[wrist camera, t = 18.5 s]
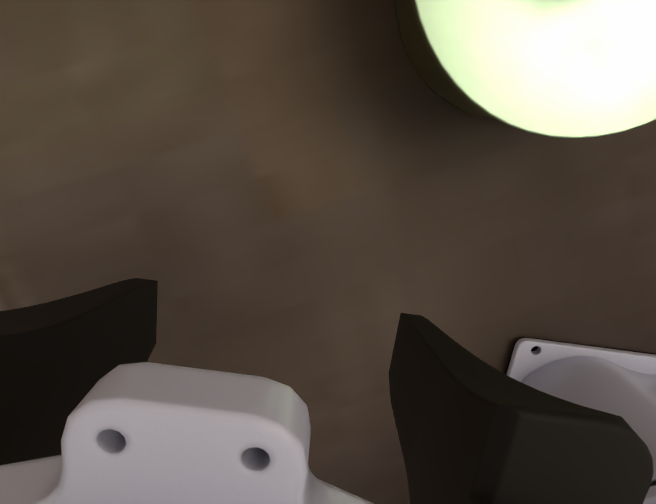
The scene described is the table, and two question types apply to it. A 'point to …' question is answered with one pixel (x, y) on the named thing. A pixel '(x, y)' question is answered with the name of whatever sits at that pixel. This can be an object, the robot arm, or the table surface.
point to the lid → (548, 61)
